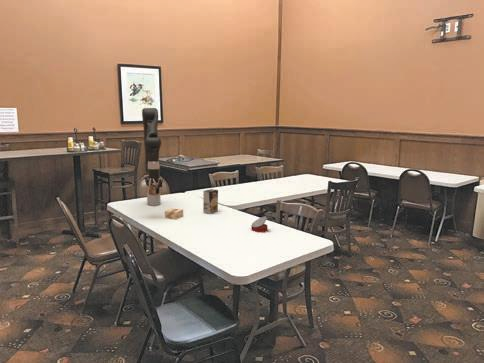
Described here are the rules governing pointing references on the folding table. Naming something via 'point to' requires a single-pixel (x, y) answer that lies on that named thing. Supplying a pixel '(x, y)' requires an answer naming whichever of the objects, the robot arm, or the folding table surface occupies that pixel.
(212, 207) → the coffee box
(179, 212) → the oak block
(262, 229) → the canned food
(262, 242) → the folding table surface
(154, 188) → the walnut block
